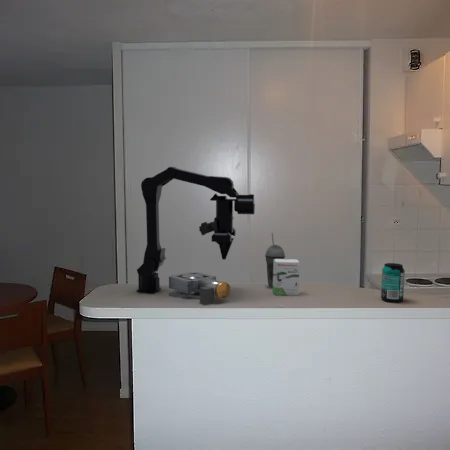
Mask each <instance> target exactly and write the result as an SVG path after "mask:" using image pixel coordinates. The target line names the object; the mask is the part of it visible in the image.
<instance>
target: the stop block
mask: <svg viewBox="0 0 450 450" xmlns="http://www.w3.org/2000/svg"><path fill="white" fill-rule="evenodd" d="M199 304H202V305H205V306H206V305H211V304H214V296H213V288H211V287H208V286H206V287H201V288H200V299H199Z"/></svg>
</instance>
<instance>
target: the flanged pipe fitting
mask: <svg viewBox="0 0 450 450" xmlns="http://www.w3.org/2000/svg"><path fill="white" fill-rule="evenodd" d="M186 274H200V275H203V278H200V279H194V280H188V279H184V278H182V275H186ZM206 286H208V287H211V288H213V297H215V298H218V299H222V300H225V299H227V298H228V297H229V295H230V293H231V286H230V283H228V282H226V281H219V280H217V277H216V275H212V274H207V273H204V272H199V271H194V272H192V271H190V272H189V271H188V272H185V273H184V272H183V273H178V274H177V273H176V274H172V275H170V276H169V275H168V288H169V289H171V290H173V291H174V290H178V291H181V292H184V293H197V292H200V288H201V287H206Z"/></svg>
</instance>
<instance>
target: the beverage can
mask: <svg viewBox="0 0 450 450" xmlns="http://www.w3.org/2000/svg"><path fill="white" fill-rule="evenodd" d="M405 272H406V271H405V269H404V267H403V264H401V263H395V262H388V263H384V266H383V267H382V269H381V290H380V291H381V292H380V293H381V294H380V298H381V299H382V301H384V302H386V301H387V303H393V302H394V303H401V302H402V301H403V300H404V291H405ZM394 303H393V304H394Z"/></svg>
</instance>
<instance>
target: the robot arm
mask: <svg viewBox="0 0 450 450" xmlns="http://www.w3.org/2000/svg"><path fill="white" fill-rule="evenodd" d="M172 180H177V181H182V182H186V183H190V184H194V185H198V186H202V187H205V188H208V189H209V190H211V191H213V192H215V193H213V196H212V197H211V198H210V199H209V200H210V201H215V217H213V218H214V219H213V221H210V222H207V221H204V222H201V224H200V225H199V226H198V228H199V230H198V231H199V232H200V234H201V236H205V235H206V234H209V233H212V232H213V233H212V235H211V242H212V243H216V244H217V245H218V246H219V251H220V255H221V259H222V260H227V256H228V254H229V251H230V249H231V246H232V244H233V243H234V242H233V241H234V238H233V237H235V236H236V234H237V233H236V228H234V226H233V225H234V223H233V221H234V216H233V214H234V212H237V215H255V213H256V211H255V210H256V203H255V194H240V193H238V191H237V189H236V188H235V187H234V186H235V185H234V181H233V179H231V177H227V176H217V175H215V176H214V175H207V174H202V173H197V172H194V171H190V170H186V169H182V168H178V167H175V166H168V167H167V168H166V169H165V170H163V171H161V172H159V173H157V174H156V175H154V176H152V177H145V178H144V179H143V180H142V181H141V184H140V187H141V188H140V189H141V192H142V193H141V194H142V196H143V200H144V203H145V216H146V217H145V218H146V248H145V251H144V255H143V260H142V261H143V263H142V264H141V265H140V266H139V267H138V268H137V269H136V272H137V276H138V280H137V281H138V289H135V291H136V292H139V293H149V294H154V293H155V292H158V291H160V290H161V287H160V284H161V283H160V277H159V272H158V271H159V269H160V268H161V267H162V266H163V265H164V263H165V262H164V261H165V260H166V259H167V258H166V254H165V253H166V247H163V248H162V246H161V243H160V211H159V210H160V209H159V206H160V205H159V203H160V201H161V200H160V199H161V196H162V191H163V187H164V186H165V185H167V184H168V183H170V182H171V181H172ZM217 193H218V194H220V195H218V194H217ZM227 196H228V197H229V198H228V197H227ZM233 204H234V205H233ZM232 236H233V237H232Z"/></svg>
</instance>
